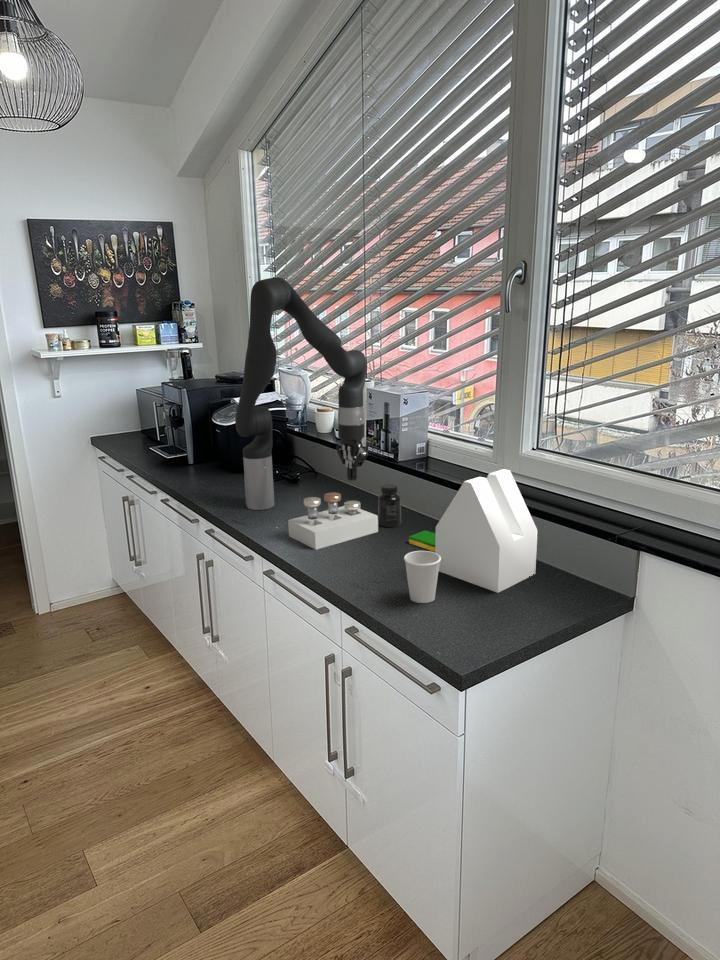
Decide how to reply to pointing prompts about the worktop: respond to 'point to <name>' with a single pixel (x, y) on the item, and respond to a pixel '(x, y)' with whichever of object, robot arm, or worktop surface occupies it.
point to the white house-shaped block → (488, 534)
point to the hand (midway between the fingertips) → (352, 479)
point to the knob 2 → (352, 507)
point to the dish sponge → (424, 540)
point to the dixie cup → (422, 575)
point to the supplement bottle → (389, 506)
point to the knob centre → (332, 502)
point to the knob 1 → (312, 506)
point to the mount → (332, 527)
